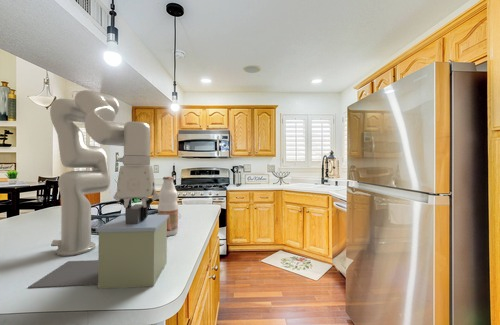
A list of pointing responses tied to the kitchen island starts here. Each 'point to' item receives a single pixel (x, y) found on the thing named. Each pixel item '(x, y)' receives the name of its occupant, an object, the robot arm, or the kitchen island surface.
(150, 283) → the storage box
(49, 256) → the kitchen island surface
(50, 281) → the mat
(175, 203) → the fruit juice
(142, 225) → the lid
